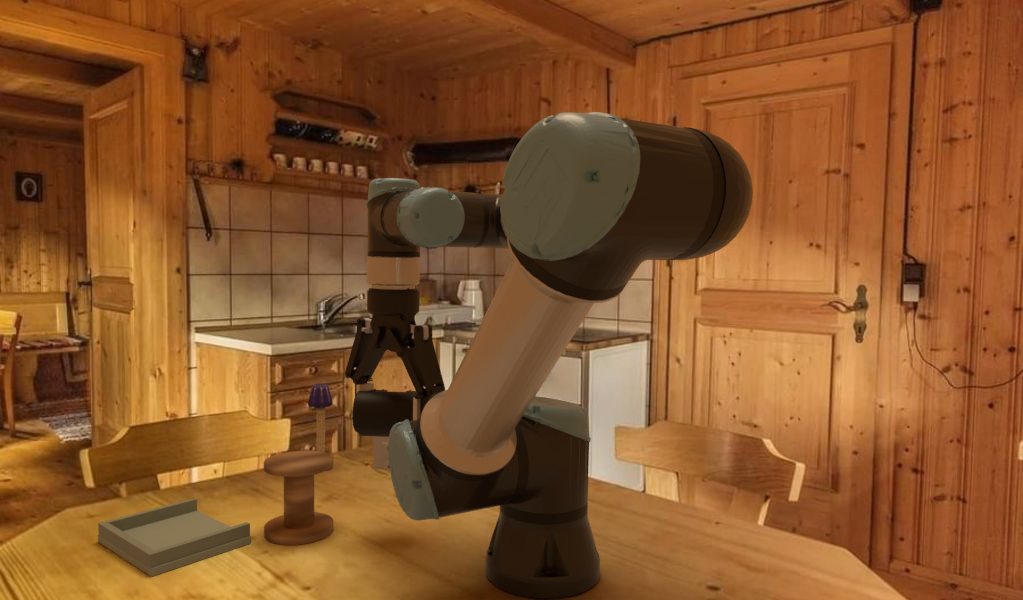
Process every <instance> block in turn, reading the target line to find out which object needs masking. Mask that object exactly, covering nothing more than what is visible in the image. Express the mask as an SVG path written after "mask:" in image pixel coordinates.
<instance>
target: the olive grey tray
mask: <svg viewBox="0 0 1023 600" xmlns="http://www.w3.org/2000/svg"><path fill="white" fill-rule="evenodd" d="M97 527H98V534H97V542H98V543H99V544H100V545H102V546H104V547H105V548H106V549H109V551H111V552H112V553H114V554H116V555H117V556H119V557H120V558H121V559H124V560H125V561H126V562H128V563H129V564H131V565H133V566H134V567H135V568H138V570H140V571H141V572H144V573H145V574H146V575H147V576H149V577H151V578H152V577H154V576H157V575H160V574H164V573H166V572H169V571H172V570H176V569H179V568H182V567H184V566H187V565H188V566H189V564H193V563H196V562H199V561H202V560H205V559H208V558H212V557H214V556H218V555H220V554H223V553H226V552H229V551H232V550H236V549H238V548H241V547H244V546H247V545H249V544H252V536H251V523H249V522H247V521H246V522H243V523H239V524H236V525H233V526H231V525H228V524H227V523H224V522H223V521H220V520H218V519H215V518H214V517H212V516H209V515H208V514H205V513H204V512H201V511H199V510H198V499H197V498H194V497H193V498H188V499H185V500H181V501H178V502H175V503H171V504H170V503H169V504H166V505H163V506H159V507H155V508H151V509H148V510H143V511H140V512H135V513H132V514H128V515H124V516H120V517H115V518H113V519H109V520H105V521H101V522H99V523H98V525H97Z"/></svg>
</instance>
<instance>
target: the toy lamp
mask: <svg viewBox="0 0 1023 600" xmlns="http://www.w3.org/2000/svg"><path fill="white" fill-rule="evenodd" d="M307 405H308V407H310V408H315V411H316V416H315V420H316V425H315V426H316V433H315V434H316V439H315V443H316V446H315V449H316V450H315V451H320V452H325V453H326V451H325V450H326V444H325V443H326V436H325V435H326V432H327V431H326V420H325V419H326V413H325V412H326V408H327V407H331V406H332V405H333V399H332V395H331V391H330V387H329V385H328V384H327V383H314V384H312V386H311V389H310V393H309V397H308V400H307ZM331 469H332V468H330V469H329V470H331Z"/></svg>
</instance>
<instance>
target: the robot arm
mask: <svg viewBox="0 0 1023 600" xmlns="http://www.w3.org/2000/svg"><path fill="white" fill-rule="evenodd" d="M501 186H502V187H504V193H503V194H501V193H500V194H499V193H498V194H497V193H492V194H491V193H479V192H467V191H466V192H465V191H454V190H453V191H452V190H448V189H447V188H446V189H445V188H443V187H429V186H422V187H421V185H420V183H419V182H418V181H417V180H415V179H411V178H400V177H399V178H398V177H397V178H396V177H384V178H383V177H382V178H374V179H372V180H370V182H369V184H368V192H367V193H368V195H367V200H366V208H367V259H366V262H367V264H366V266H367V267H366V283H367V284H368V285H371V286H370V288H368V290H366V292H367V293H366V310H367V313H368V314H370V315H371V317H362V318H357V319H356V327H355V329H356V331H355V336H354V340H353V343H352V346H351V349H350V350H351V351H350V353H349V354H350V355H349V357H348V361H347V365H346V369H345V372H344V377H345V378H347V379H351V380H352V383H353V384H354V397H355V396H356V394H357V392H358V391H369V390H374V389H375V387H374V385H375V384H374V383H373V380H374V379H373V378H372V376H373V375H374V373H375V371H376V370H377V367H378V366H379V364H380V362H381V360H382V358H383V357H384V354H385V352H387V351H389V352H392V353H395V354H396V355H397V357H399V358H400V359H401V361H402V364H403V365H404V368H405V370H406V372H407V375H408V377H409V379H410V382H411V383H412V386H413V388H414V391H416V392H417V395H416V396H415V397H413V421H409V420H408V419H406V420H404V421H403V422H398V423H396V424H395V425H394V426H393V427H392V428H391V431H390V434H389V441H388V455H389V466H390V469H389V470H390V478H391V482H392V487H393V490H394V493H395V497H396V499H397V501H398V504H399V506H400V509H401V510H402V511H403V512H404V514H405V515H406V517H408V518H409V519H411V520H413V521H425V520H440V518H446V517H450V516H455V515H459V514H460V515H461V514H465V513H469V512H474V511H480V510H486V509H490V508H495V507H499V514H498V518H497V521H496V524H495V527H494V529H493V533H492V536H491V537H490V541H489V545H488V548H487V550H486V554H485V574H486V577H487V578H488V580H489V581H490V582H491V583H492V584H493V585H495V586H496V587H497V588H499V589H500V590H503V591H505V592H507V593H511V594H513V595H517V596H522V597H526V598H527V597H528V598H534V599H559V598H566V597H571V596H576V595H579V594H581V593H584V592H586V591H589V590H590V589H591V588H593V587H594V586H595V585H596V584H597V583H598V582H599V580H600V576H601V574H600V573H601V559H600V558H601V557H600V554H599V551H598V549H597V545H596V541H595V538H594V534H593V531H592V527H591V524H590V521H589V520H590V519H589V516H588V515H589V514H588V513H589V512H588V506H589V505H588V504H589V501H588V500H589V467H590V466H589V463H590V461H589V458H590V443H591V441H592V440H591V437H590V423H589V422H590V421H589V416H588V412H587V411H586V409H584V408H583V407H582V406H580V405H579V404H576V403H573V402H570V401H566V400H562V399H557V398H551V397H545V396H544V397H543V396H538V392H539V391H540V390H541V387H543V384H544V383H545V382H546V380H547V378H548V376H549V375H550V374H551V372H552V371H553V369H554V367H555V365H556V364H557V363H558V361H559V359H560V358H561V356H562V354H563V353H564V352H565V350H566V348H567V347H568V345H569V343H570V342H571V340H572V339H573V337H574V336H575V334H576V333H577V331H578V330H579V328H580V326H581V325H582V323H583V322H584V320H585V318H586V316H588V314H589V312H590V311H591V309H592V307H593V306H594V304H601V303H607V302H609V301H611V300H613V299H616V298H617V297H618V296H620V294H621V293H622V292H623V291H624V289H625V288H626V286H627V285H628V283H629V282H630V280H631V279H632V277H633V275H635V273H636V271H637V269H638V268H639V267H640V265H641V264H642V263H644V262H646V261H687V260H693V259H700V258H703V257H707V256H710V255H712V254H713V253H716V252H719V251H721V250H722V249H723V248H724V247H726V246H728V245H729V244H730V243H731V242H732V241H733V240H734V239H735V238H736V237H737V236H738V235H739V233H740V232H741V231H742V230H743V228H744V227H745V224H746V223H747V220H748V218H749V215H750V212H751V209H752V204H753V197H754V196H753V194H754V190H753V182H752V176H751V173H750V170H749V168H748V165H747V163H746V161H745V160H744V158H743V157H742V156H741V154H740V153H739V151H737V149H735V147H734V146H733V145H732V144H730V143H729V142H728V141H726V140H725V139H724V138H723V137H720V136H718V135H716V134H714V133H713V132H710V131H707V130H703V129H698V128H695V127H694V128H693V127H683V126H676V125H670V124H669V125H668V124H662V123H655V122H648V121H641V120H635V119H628V118H627V119H626V118H621V117H619V116H617V115H614V114H611V113H606V112H600V111H593V112H584V113H581V112H572V111H571V112H567V111H566V112H559V113H556V114H555V115H548V116H546V117H545V118H543V119H541V120H539V121H538V122H537V123H535V124H534V125H533V126H531V128H529V129H528V130H527V132H526V133H524V135H523V136H522V137H521V139H520V140H519V142H518V143H517V144H516V146H515V148H514V149H513V151H512V153H511V155H510V158H509V159H508V162H507V164H506V167H505V170H504V174H503V178H502V183H501ZM421 248H472V249H473V248H474V249H475V248H485V249H507V250H509V252H510V254H511V255H512V257H513V258H512V260H511V262H510V263H509V266H508V268H507V270H506V272H505V274H504V275H503V278H502V279H501V281H500V284H499V286H498V288H497V290H496V292H495V294H494V296H493V298H492V300H491V302H490V304H489V306H488V308H487V310H486V312H485V314H484V316H483V317H482V320H481V322H480V324H479V326H478V328H477V330H476V332H475V334H474V336H473V338H472V340H471V342H470V344H469V346H468V348H467V350H466V352H465V355H464V356H463V358H462V360H461V362H460V365H459V366H458V369H457V370H456V372H455V374H454V376H453V379H452V380H451V383H450V385H449V386H448V388H447V389H446V386H445V382H444V380H443V375H442V372H441V368H440V364H439V360H438V357H437V352H436V348H435V344H434V342H433V326H432V325H431V324H422V325H421V324H420V325H419V324H417V323H416V316H417V315H418V313H419V312H420V294H421V293H420V290H419V289H418V288H416V286H418V285H419V284H420V275H421V274H420V273H421V272H420V267H421V263H420V262H421V261H420V260H421V258H420V257H421Z"/></svg>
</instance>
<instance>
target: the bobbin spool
mask: <svg viewBox="0 0 1023 600" xmlns="http://www.w3.org/2000/svg"><path fill="white" fill-rule="evenodd" d="M333 466H334V456H333V455H332V454H330V453H329V452H326V451H325V452H320V451H317V450H294V451H287V452H282V453H278V454H277V453H276V454H274V455H271V456H269V457H267V458H266V459H265V460H264V461H263V471H264V472H265V473H266V474H267V475H268V474H269V475H271V476H276V477H283V514H281V515H277V516H275V517H274V518H271V519H269V520H268V521H267V522H265V524H264V526H263V537H264V539H265V540H266V541H267V542H269V543H272V544H274V545H281V546H299V545H307V544H311V543H316V542H318V541H321V540H323V539H325V538H327V537H329V536H330V535H332V533H333V532H334V519H333V517H332V516H330V515H328V514H327V513H323V512H318V511H317V512H316V511H315V475H317V474H321V473H324V472H326V471H329V470H331V469H332V468H333ZM330 468H331V469H330Z"/></svg>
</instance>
